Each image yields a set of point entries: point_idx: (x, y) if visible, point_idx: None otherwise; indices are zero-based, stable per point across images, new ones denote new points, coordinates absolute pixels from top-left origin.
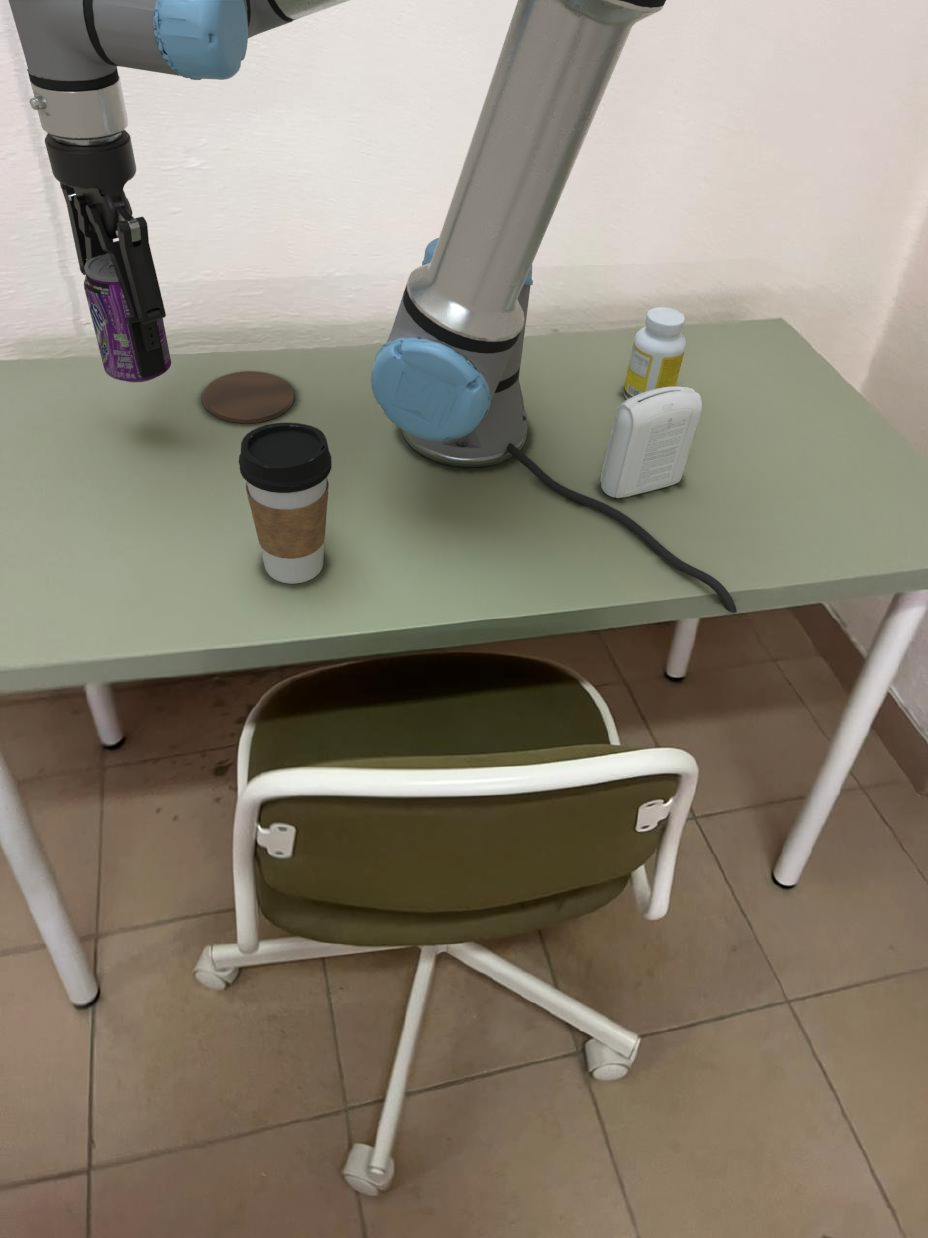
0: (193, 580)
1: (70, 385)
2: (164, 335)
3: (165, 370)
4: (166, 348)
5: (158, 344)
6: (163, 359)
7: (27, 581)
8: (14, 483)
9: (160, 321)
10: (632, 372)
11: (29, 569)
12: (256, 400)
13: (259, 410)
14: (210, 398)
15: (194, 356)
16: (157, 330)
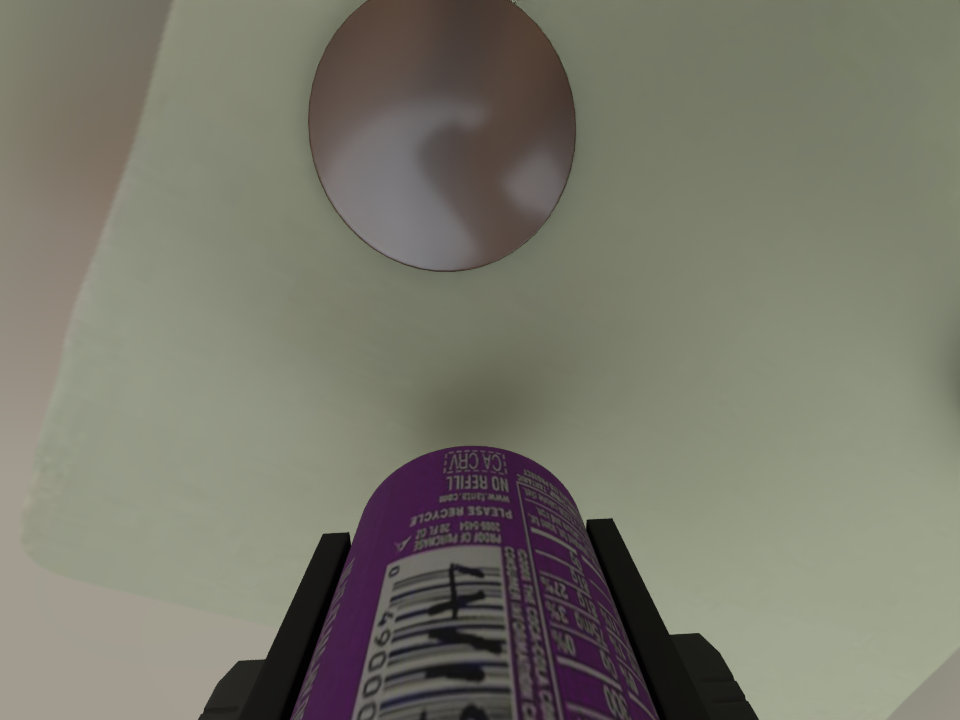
0: (905, 537)
1: (177, 495)
2: (571, 552)
3: (612, 521)
4: (564, 516)
5: (716, 655)
6: (626, 551)
7: None
8: None
9: (604, 628)
10: None
11: None
12: (486, 133)
13: (535, 154)
14: (409, 245)
15: (144, 163)
16: (684, 672)
